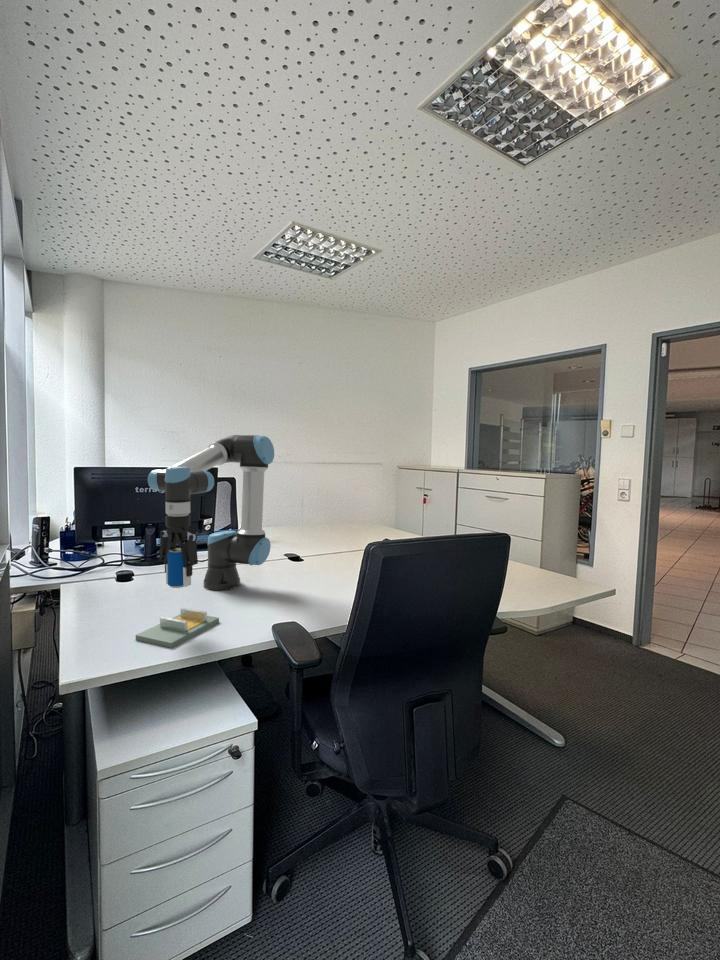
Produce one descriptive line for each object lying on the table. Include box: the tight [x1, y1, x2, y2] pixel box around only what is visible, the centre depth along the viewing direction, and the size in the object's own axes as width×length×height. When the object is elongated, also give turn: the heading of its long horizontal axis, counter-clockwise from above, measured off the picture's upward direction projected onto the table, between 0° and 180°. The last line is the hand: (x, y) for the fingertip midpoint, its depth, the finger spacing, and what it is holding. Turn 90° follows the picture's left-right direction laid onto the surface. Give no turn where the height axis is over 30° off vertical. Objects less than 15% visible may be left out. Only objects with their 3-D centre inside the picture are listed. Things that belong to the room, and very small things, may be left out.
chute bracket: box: [159, 607, 208, 632], centre depth 150 cm, size 10×10×3 cm
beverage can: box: [167, 547, 189, 589], centre depth 149 cm, size 6×6×12 cm
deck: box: [135, 613, 220, 649], centre depth 149 cm, size 14×22×2 cm, turn 159°
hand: (178, 584), depth 149 cm, fingers closed on beverage can, 6 cm apart
